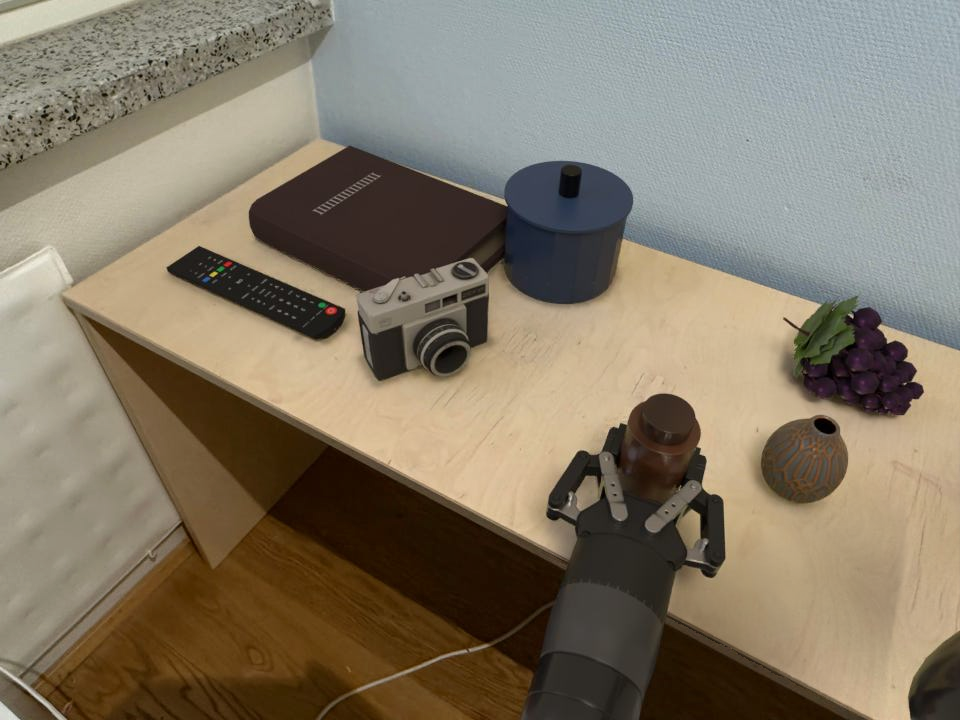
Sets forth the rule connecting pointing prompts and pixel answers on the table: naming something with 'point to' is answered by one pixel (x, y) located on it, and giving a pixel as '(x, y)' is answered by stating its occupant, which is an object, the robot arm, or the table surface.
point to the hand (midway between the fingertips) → (657, 441)
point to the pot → (560, 261)
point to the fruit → (854, 359)
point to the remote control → (259, 293)
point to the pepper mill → (658, 447)
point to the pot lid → (568, 197)
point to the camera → (425, 320)
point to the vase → (805, 459)
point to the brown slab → (377, 220)
